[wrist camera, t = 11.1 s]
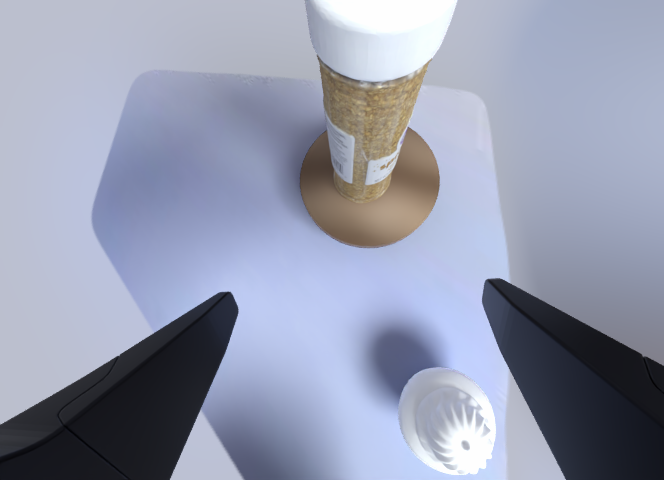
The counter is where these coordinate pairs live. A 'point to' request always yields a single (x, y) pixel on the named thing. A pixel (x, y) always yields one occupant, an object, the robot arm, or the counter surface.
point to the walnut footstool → (381, 214)
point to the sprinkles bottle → (372, 81)
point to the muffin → (447, 421)
